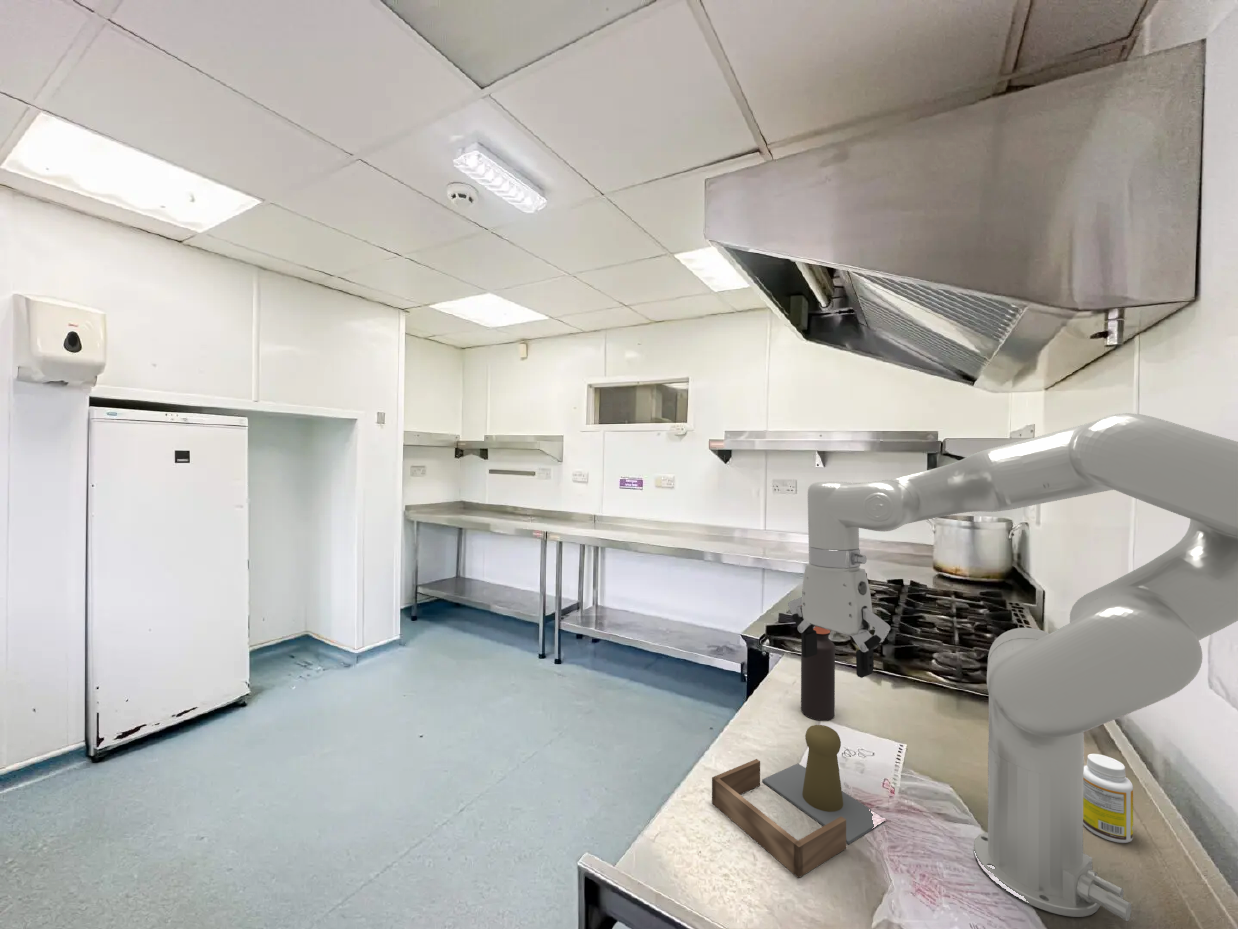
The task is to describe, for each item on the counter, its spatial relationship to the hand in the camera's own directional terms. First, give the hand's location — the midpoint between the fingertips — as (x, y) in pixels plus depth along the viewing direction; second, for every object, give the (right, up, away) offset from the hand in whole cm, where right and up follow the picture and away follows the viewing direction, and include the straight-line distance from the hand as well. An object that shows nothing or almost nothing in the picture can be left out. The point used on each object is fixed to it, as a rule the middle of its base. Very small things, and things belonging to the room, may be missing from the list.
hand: (835, 665), depth 80 cm
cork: (-3, -21, -1) cm, 21 cm away
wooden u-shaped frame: (-11, -21, -6) cm, 25 cm away
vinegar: (+8, -22, +27) cm, 36 cm away
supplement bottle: (+36, -22, -7) cm, 43 cm away
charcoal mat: (-3, -21, -1) cm, 21 cm away
